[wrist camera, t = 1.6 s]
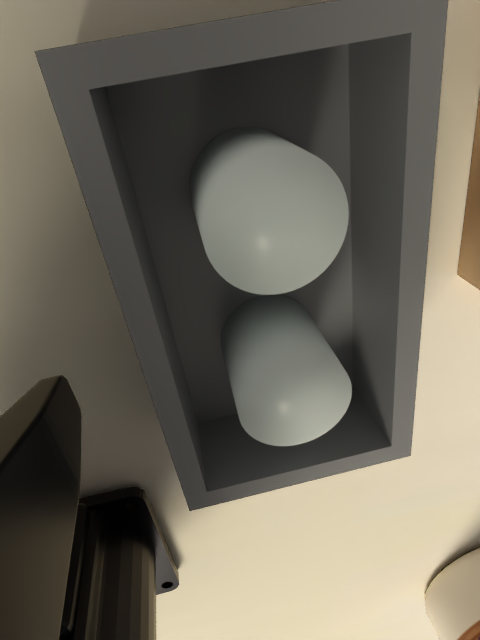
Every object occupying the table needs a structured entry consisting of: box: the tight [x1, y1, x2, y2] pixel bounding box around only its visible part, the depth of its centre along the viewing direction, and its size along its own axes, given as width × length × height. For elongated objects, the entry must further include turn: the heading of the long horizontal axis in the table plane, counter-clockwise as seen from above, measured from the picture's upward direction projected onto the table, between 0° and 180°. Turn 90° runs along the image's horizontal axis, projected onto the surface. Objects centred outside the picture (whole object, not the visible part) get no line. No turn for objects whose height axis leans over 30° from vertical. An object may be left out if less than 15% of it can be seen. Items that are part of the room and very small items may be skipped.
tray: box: [35, 0, 448, 511], centre depth 11 cm, size 11×6×4 cm, turn 9°
